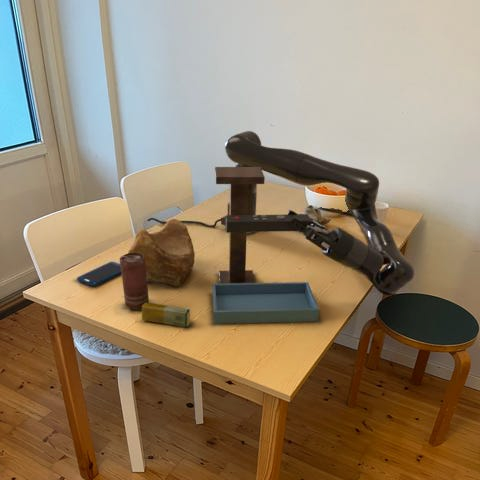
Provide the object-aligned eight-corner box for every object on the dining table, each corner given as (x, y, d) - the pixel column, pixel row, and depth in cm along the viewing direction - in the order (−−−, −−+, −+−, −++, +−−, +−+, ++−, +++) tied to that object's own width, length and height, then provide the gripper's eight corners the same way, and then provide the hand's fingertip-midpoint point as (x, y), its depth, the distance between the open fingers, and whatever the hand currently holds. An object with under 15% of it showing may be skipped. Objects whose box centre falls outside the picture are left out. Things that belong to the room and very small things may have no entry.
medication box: (190, 322, 121) (190, 308, 119) (187, 327, 118) (187, 313, 117) (145, 315, 123) (145, 301, 121) (141, 320, 120) (140, 306, 118)
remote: (226, 232, 113) (226, 220, 111) (225, 225, 116) (225, 214, 115) (310, 230, 114) (311, 219, 113) (306, 224, 118) (308, 213, 116)
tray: (214, 323, 121) (213, 312, 119) (212, 294, 133) (212, 283, 131) (318, 321, 123) (319, 309, 121) (306, 292, 135) (308, 281, 133)
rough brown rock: (165, 304, 129) (167, 254, 121) (119, 283, 136) (117, 234, 127) (213, 273, 147) (217, 228, 139) (169, 256, 153) (171, 211, 145)
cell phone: (76, 280, 138) (75, 277, 137) (112, 263, 148) (112, 260, 147) (93, 287, 134) (93, 285, 134) (129, 269, 144) (129, 267, 144)
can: (126, 299, 130) (120, 252, 122) (149, 298, 130) (145, 251, 123) (123, 311, 125) (117, 262, 117) (148, 310, 125) (143, 262, 117)
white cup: (384, 229, 176) (389, 202, 170) (382, 237, 170) (387, 209, 164) (362, 226, 178) (367, 199, 172) (360, 233, 172) (364, 206, 166)
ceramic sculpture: (288, 205, 169) (309, 197, 179) (285, 229, 173) (306, 220, 184) (314, 213, 163) (335, 204, 174) (311, 237, 168) (331, 227, 178)
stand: (216, 291, 134) (216, 177, 117) (215, 275, 143) (214, 166, 125) (259, 290, 135) (264, 177, 118) (255, 274, 144) (260, 166, 126)
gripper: (346, 226, 124) (292, 194, 119) (362, 248, 113) (303, 214, 107) (329, 249, 128) (276, 219, 122) (343, 274, 116) (285, 242, 110)
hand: (289, 217), depth 114 cm, fingers closed on remote, 4 cm apart
